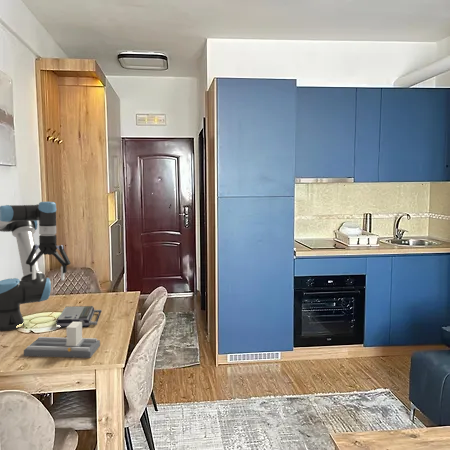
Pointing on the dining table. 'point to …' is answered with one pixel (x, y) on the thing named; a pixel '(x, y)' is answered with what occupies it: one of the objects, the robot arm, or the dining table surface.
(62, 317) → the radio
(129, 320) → the dining table surface
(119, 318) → the dining table surface
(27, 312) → the dining table surface
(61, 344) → the grey slider base
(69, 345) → the fader tab
